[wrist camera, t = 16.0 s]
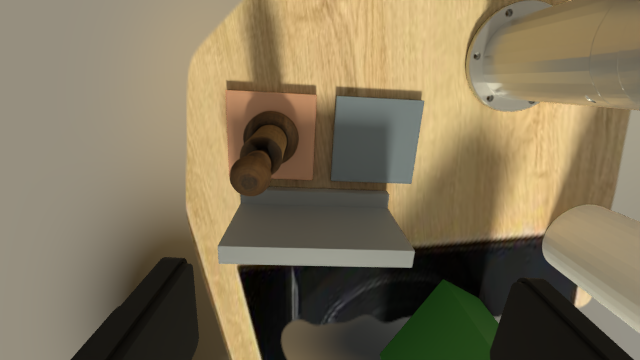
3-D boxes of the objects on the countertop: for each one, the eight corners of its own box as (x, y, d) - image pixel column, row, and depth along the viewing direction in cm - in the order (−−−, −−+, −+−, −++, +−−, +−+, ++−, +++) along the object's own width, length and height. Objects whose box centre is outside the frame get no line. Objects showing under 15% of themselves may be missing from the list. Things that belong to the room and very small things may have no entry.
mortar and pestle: (301, 113, 37) (299, 141, 20) (296, 163, 39) (291, 227, 22) (247, 107, 37) (198, 131, 20) (245, 158, 39) (199, 220, 22)
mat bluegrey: (421, 100, 38) (424, 100, 37) (408, 181, 42) (411, 183, 41) (336, 95, 38) (336, 96, 37) (330, 178, 41) (331, 180, 40)
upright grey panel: (386, 190, 42) (417, 233, 30) (381, 229, 44) (409, 283, 32) (242, 185, 41) (216, 228, 29) (243, 225, 43) (219, 280, 31)
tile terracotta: (316, 94, 38) (316, 95, 37) (312, 177, 41) (312, 180, 40) (227, 89, 37) (225, 90, 36) (231, 174, 40) (229, 177, 39)
